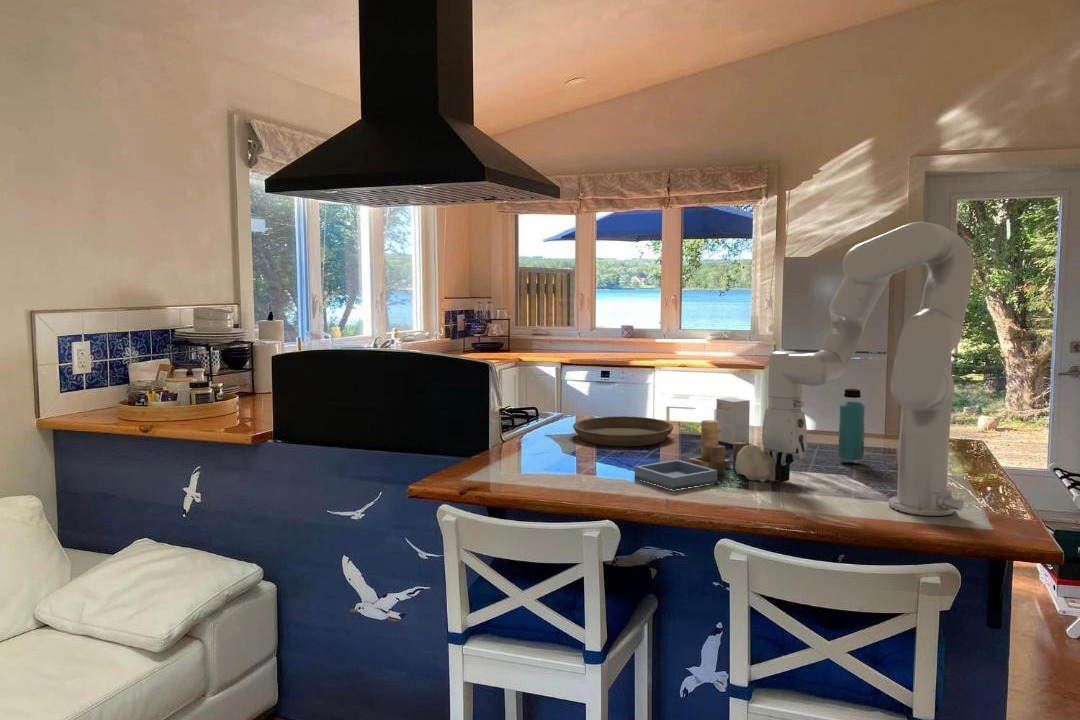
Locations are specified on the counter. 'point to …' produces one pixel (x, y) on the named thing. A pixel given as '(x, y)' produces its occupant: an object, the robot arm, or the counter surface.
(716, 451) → the peg
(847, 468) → the counter surface
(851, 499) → the counter surface
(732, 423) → the small box
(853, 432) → the beverage bottle
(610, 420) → the plant saucer
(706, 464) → the dowel socket
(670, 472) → the tray
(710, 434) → the dowel
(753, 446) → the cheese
